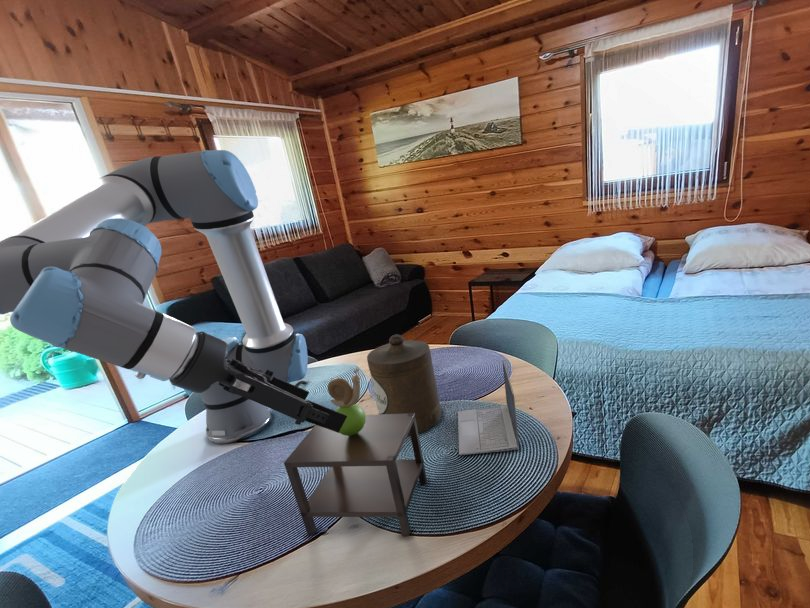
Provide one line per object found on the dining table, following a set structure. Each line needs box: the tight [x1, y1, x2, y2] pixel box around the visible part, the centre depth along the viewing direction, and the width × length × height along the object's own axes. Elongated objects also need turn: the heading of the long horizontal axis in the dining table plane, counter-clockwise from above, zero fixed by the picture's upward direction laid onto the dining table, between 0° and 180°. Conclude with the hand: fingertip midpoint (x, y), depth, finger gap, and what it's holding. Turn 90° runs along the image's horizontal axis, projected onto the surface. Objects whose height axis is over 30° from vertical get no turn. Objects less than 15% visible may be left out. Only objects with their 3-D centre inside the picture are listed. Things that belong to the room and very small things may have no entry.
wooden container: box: [366, 333, 442, 436], centre depth 102 cm, size 15×15×22 cm
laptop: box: [457, 359, 520, 456], centre depth 95 cm, size 18×12×13 cm
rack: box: [283, 413, 428, 537], centre depth 76 cm, size 14×18×15 cm
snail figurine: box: [327, 367, 366, 436], centre depth 72 cm, size 5×6×12 cm
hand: (322, 410), depth 69 cm, fingers open, 13 cm apart
